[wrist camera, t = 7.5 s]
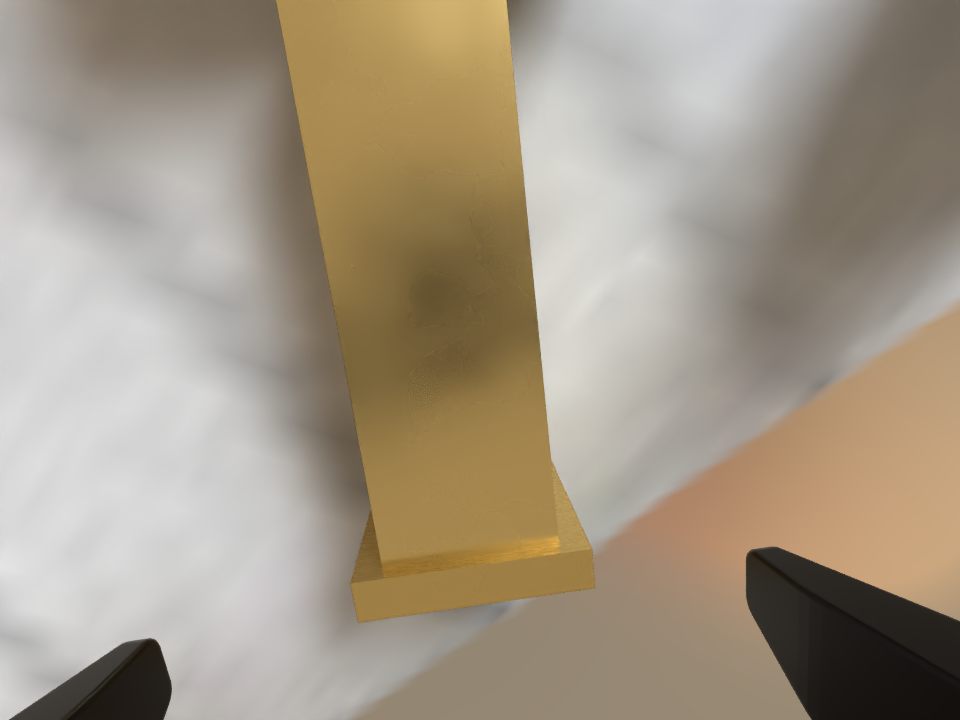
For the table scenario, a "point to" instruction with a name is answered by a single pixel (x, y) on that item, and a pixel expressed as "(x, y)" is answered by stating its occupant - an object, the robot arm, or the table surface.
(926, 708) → the robot arm
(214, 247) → the table surface
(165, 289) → the table surface
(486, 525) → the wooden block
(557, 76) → the table surface
